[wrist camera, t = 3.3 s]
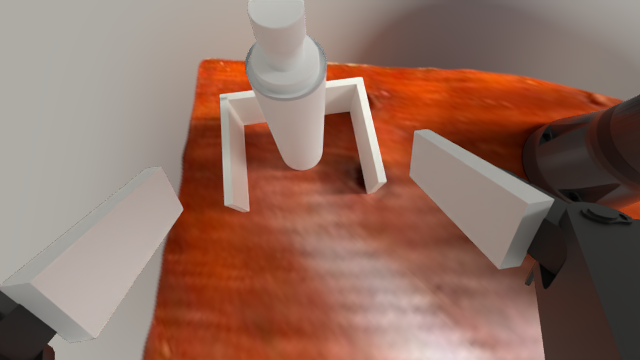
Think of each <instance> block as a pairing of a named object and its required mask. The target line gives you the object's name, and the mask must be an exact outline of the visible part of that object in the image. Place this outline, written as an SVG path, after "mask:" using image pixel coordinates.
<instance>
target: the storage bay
mask: <svg viewBox="0 0 640 360" xmlns="http://www.w3.org/2000/svg"><path fill="white" fill-rule="evenodd" d="M220 111H221V135H222V159H223V184H224V205H225V206H228V207H230V208H233V209H236V210H238V211H241V212H249V211H250V207H249V193H248V178H247V164H246V150H245V136H244V125H249V124H257V123H265V122H267V121H266V119H265V117H264V115H263V112H262V110H261V107H260V105H259V103H258V100H257V98H256V96H255V93H254V91H244V92H236V93H228V94H220ZM349 111H350V115H351V119H352V124H353V129H354V134H355V138H356V143H357V148H358V153H359V158H360V162H361V167H362V172H363V177H364V182H365V186H366V191H367V194H371V193H374V192H375V191H376V190H378V189H379V188H380V187H381V186H382V185H383V184H385V183H386V182H387V180H386V176H385V172H384V168H383V163H382V159H381V155H380V151H379V146H378V142H377V138H376V134H375V129H374V125H373V121H372V117H371V112H370V108H369V104H368V100H367V95H366V91H365V87H364V83H363V78H362V77H358V78H350V79H342V80H334V81H326V92H325V114H324V115H326V114H334V113H341V112H349Z"/></svg>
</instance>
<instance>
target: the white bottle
mask: <svg viewBox="0 0 640 360" xmlns="http://www.w3.org/2000/svg"><path fill="white" fill-rule="evenodd" d="M247 11H248V15H249V18H250V22H251V25H252V28H253V31H254V35H255V38H256V40H257V42H256V43H255V44H254V45H253V46H252V47H251V48H250V50H249V52H248V54H247V57H246V61H245V70H246V74H248V75H247V77H248V78H249V81H250V84H251V86H252V89H253V91H254V93H255V96H256V98H257V100H258V103H259V105H260V107H261V110H262V112H263V115H264V117H265V119H266V121H267V124H268V126H269V128H270V131H271V133H272V135H273V138H274V140H275V142H276V145H277V147H278V149H279V151H280V154H281V156H282V158H283V160H284V162H285V163H286V164H287V165H288V166H289V167H291V168H293V169H295V170H308V169H310V168H312V167H314V166H315V165H316V164H317V163H318V162H319V161H320V159H321V157H322V153H323V134H324V114H325V92H326V67H327V60H326V55H325V52H324V50H323V49H322V47H321V46H320V44H319V43H318V42H317V41H316V40H315V39H313V38H312V37H310V36H308V35H306V23H305V5H304V1H303V0H249V1H248V5H247ZM317 46H318V47H317ZM320 50H321V51H322V52H321V51H320ZM322 53H323V54H322ZM250 55H251V56H250ZM323 55H324V56H323ZM249 57H250V58H249ZM324 57H325V58H324ZM248 60H249V61H248ZM325 60H326V61H325ZM247 63H248V65H247Z"/></svg>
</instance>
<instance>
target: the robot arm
mask: <svg viewBox="0 0 640 360" xmlns="http://www.w3.org/2000/svg"><path fill="white" fill-rule="evenodd" d="M522 158H523V166H524V169H525V172H526V175H527V177H528V179H529V181H530V182H531V184H530V183H529V182H528V181H526V180H525V179H523V178H519V176H517V175H515V174H513V173H512V172H510V171H508V170H505V169H502V168H499V167H496V166H494V165H492V164H490V163H488V162H487V161H485V160H483V159H481V158H479V157H478V156H476V155H474V154H472V153H470V152H469V151H467V150H465V149H463V148H461V147H460V146H458V145H456V144H454V143H452V142H451V141H449V140H447V139H445V138H443V137H442V136H440V135H438V134H436V133H434V132H433V131H431V130H429V129H425V130H418V131H414V139H413V148H412V157H411V166H410V174H409V176H410V177H411V178H412V179H413V180H414V182H415V183H416V184H417V185H418V186H419V187H420V188H421V189H422V190H423V191H424V192H425V193H426V194H427V195H428V196H429V197H430V198H431V199H432V200H433V201H434V202H435V203H436V204H437V205H438V207H439V208H440V209H441V210H442V211H443V212H444V213H445V214H446V215H447V216H448V217H449V218H450V219H451V220H452V221H453V222H454V223H455V224H456V225H457V226H458V227H459V228H460V229H461V230H462V232H463V233H464V234H465V235H466V236H467V237H468V238H469V239H470V240H471V241H472V242H473V243H474V244H475V245H476V246H477V247H478V248H479V249H480V250H481V251H482V252H483V253H484V254H485V255H486V257H487V258H488V259H489V260H490V261H491V262H492V263H493V264H494V265H495V266H496V267H497V268H498V269H505V268H511V267H517V266H521V264H522V262H523V260H524V258H525V256H526V254H527V253H528V254H529V255H531V256H532V257H533V258H534V259H535V260H537V261H536V263H535V264H534V266H533V268H532V270H531V271H530V273H529V275H528V277H527V279H526V281H525V285H528V286H529V285H530V283H531V282H532V281H533V280H535V288H536V295H537V302H538V310H539V317H540V325H541V332H542V339H543V347H544V354H545V360H640V220H638V219H632V218H631V217H630V216H628V215H626V214H624V213H622V212H620V211H618V210H619V209H621V208H624V207H626V206H629V205H631V204H634V203H636V202H639V201H640V94H639V95H637V96H635V97H633V98H631V99H628V100H626V101H624V102H622V103H620V104H618V105H615V106H613V107H611V108H608V109H606V110H601V111H596V112H592V113H587V114H582V115H577V116H572V117H567V118H562V119H559V120H556V121H553V122H551V123H549V124H547V125H545V126H543V127H541V128H539V129H537V130H535V131H534V132H533V133H532V134H531V135H530V136H529V137H528V139H527V140H526V142H525V145H524V148H523V154H522ZM183 210H184V209H183V207H182V205H181V203H180V201H179V199H178V197H177V195H176V193H175V191H174V189H173V188H172V186H171V184H170V182H169V180H168V178H167V176H166V174H165V172H164V170H163V168H162V166H157V167H150V168H145V169H144V170H143V171H142V172H140V173H139V174H138V175H137V176H135V177H134V178H133V179H132V180H131V181H130V182H128V183H127V184H125V185H124V186H123V187H122V188H120V189H119V190H118V191H117V192H115V193H114V194H113V195H112V196H110V197H109V198H108V199H107V200H105V201H104V202H103V203H102V204H100V205H99V206H98V207H97V208H96V209H94V210H93V211H92V212H90V213H89V214H88V215H87V216H85V217H84V218H83V219H82V220H81V221H79V222H78V223H77V224H75V225H74V226H73V227H72V228H70V229H69V230H68V231H67V232H65V233H64V234H63V235H62V236H60V237H59V238H58V239H57V240H55V241H54V242H53V243H52V244H50V245H49V246H48V247H47V248H46V249H44V250H43V251H42V252H41V253H39V254H38V255H37V256H36V257H34V258H33V259H32V260H31V261H29V262H28V263H27V264H26V265H24V266H23V267H22V268H21V269H19V270H18V271H17V272H16V273H14V274H13V275H12V276H11V277H9V278H8V279H7V280H6V281H4V282H3V283H2V284H1V285H0V360H55V352H54V350H53V348H52V347H51V346H49V345H48V343H49V341H50V340H51V339H52V338H53V337H54V335H55V334H56V333H57V334H59V335H60V336H61V337H63V338H64V339H65V340H66V341H68V342H69V343H74V342H80V341H86V340H92V339H96V338H97V336H98V335H99V333H100V332H101V330H102V329H103V327H104V326H105V325H106V323H107V322H108V320H109V319H110V317H111V316H112V314H113V313H114V311H115V310H116V308H117V307H118V305H119V304H120V302H121V301H122V300H123V298H124V297H125V295H126V294H127V292H128V291H129V289H130V288H131V286H132V285H133V283H134V282H135V280H136V279H137V277H138V276H139V275H140V273H141V272H142V270H143V269H144V267H145V266H146V264H147V263H148V261H149V260H150V258H151V257H152V255H153V254H154V252H155V251H156V249H157V248H158V246H159V245H160V243H161V242H162V241H163V239H164V238H165V236H166V235H167V233H168V232H169V230H170V229H171V227H172V226H173V224H174V223H175V221H176V220H177V219H178V217H179V216H180V214H181V213H182V211H183Z"/></svg>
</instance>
